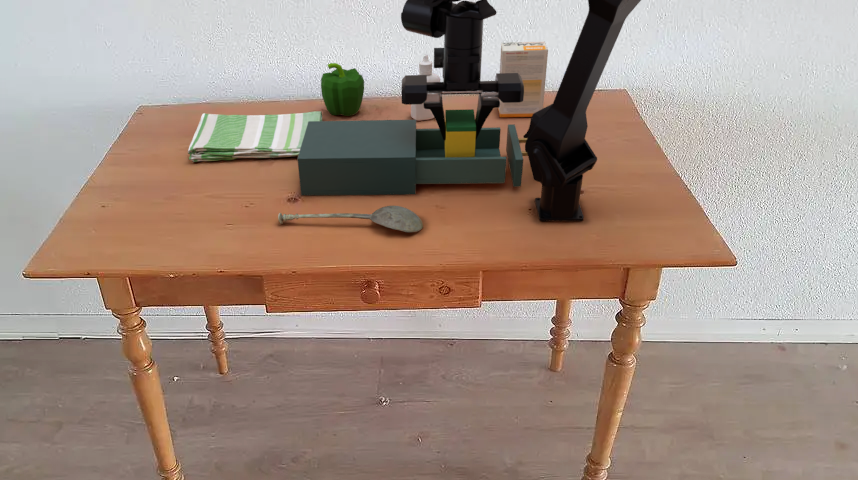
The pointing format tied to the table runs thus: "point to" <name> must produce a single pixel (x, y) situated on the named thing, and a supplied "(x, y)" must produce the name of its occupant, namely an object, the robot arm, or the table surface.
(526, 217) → the table surface
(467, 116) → the sponge
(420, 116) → the eye dropper bottle
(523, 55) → the supplement box
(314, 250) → the table surface
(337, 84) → the bell pepper
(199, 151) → the dish towel
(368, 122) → the cabinet
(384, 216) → the soupspoon
